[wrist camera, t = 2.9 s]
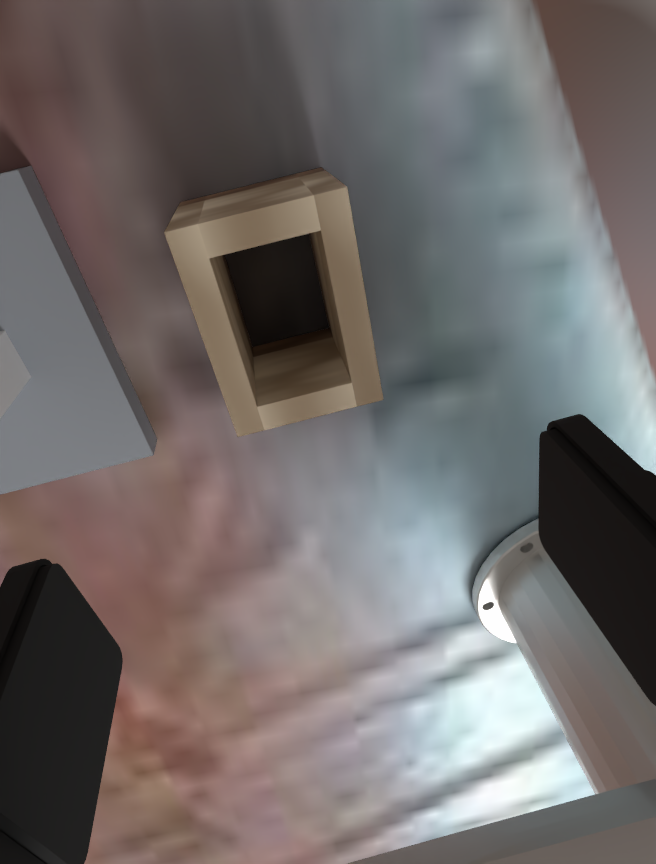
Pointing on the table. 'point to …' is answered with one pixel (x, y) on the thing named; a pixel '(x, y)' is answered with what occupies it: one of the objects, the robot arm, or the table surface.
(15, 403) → the pin board
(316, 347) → the sleeve
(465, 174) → the table surface
